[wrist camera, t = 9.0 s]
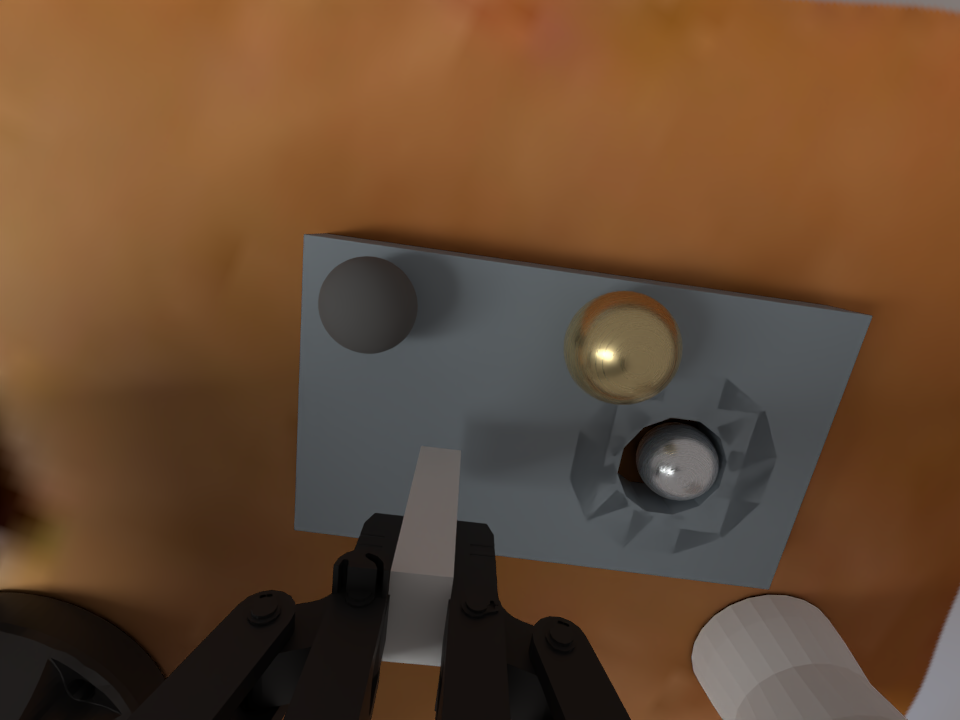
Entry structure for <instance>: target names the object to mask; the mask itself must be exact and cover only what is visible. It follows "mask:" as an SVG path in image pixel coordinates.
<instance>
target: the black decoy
mask: <svg viewBox="0 0 960 720" xmlns="http://www.w3.org/2000/svg"><path fill="white" fill-rule="evenodd" d="M318 309H319V315H320V319H321V321H322V324H323V326H324V328H325V329H326V331H327V332H328V334H329V335H330V336H331V337H332V338H333V339H334V340H335V341H336V342H337V343H338V344H340V345H341V346H343V347H345V348H347V349H349V350H351V351H355V352H358V353H364V354H375V353H380V352H384V351H387V350H389V349H392V348H394V347H395V346H397V345H398V344H399V343H401V342H402V341H403V340H404V339H405V338H406V337H407V336H408V334H409V333H410V331H411V330H412V328H413V326H414V323H415V320H416V317H417V311H418V303H417V296H416V292H415V289H414V287H413V285H412V283H411V281H410V280H409V278H408V277H407V275H406V274H405V273H404V272H403V271H402V270H401V269H400V268H399V267H397V266H396V265H394V264H393V263H391V262H389V261H387V260H384V259H381V258H377V257H370V256H363V257H356V258H352V259H349V260H347V261H345V262H343V263H341V264H339V265H338V266H336V267H335V268H334V269H333V270H332V271H331V272H330V273H329V274H328V276H327V277H326V278H325V280H324V282H323V284H322V286H321V289H320V293H319V299H318Z"/></svg>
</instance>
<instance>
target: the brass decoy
mask: <svg viewBox="0 0 960 720" xmlns="http://www.w3.org/2000/svg"><path fill="white" fill-rule="evenodd" d="M682 351H683V344H682V337H681V333H680V329H679V327H678V324H677V322H676V321H675V319H674V317H673V316H672V315H671V313H670V312H669V311H668V310H667V309H666V308H665V307H664V306H663V305H662V304H661V303H659V302H658V301H656V300H655V299H653V298H651V297H649V296H647V295H644V294H642V293H637V292H632V291H615V292H609V293H606V294H603V295H600V296H598V297H595V298H593V299H592V300H590V301H589V302H587V303H586V304H585V305H583V306H582V307H581V308H580V309H579V310H578V311H577V312H576V314H575V315H574V316H573V318H572V320H571V321H570V323H569V325H568V328H567V330H566V334H565V337H564V345H563V353H564V359H565V363H566V366H567V369H568V371H569V373H570V375H571V377H572V378H573V380H574V381H575V382H576V384H577V385H578V386H579V387H580V388H581V389H582V390H583V391H584V392H585V393H587V394H588V395H590V396H592V397H593V398H595V399H597V400H599V401H602V402H605V403H610V404H616V405H630V404H636V403H639V402H643V401H645V400H648V399H650V398H652V397H654V396H655V395H657V394H658V393H660V392H661V391H662V390H663V389H664V388H666V387H667V386H668V384H669V383H670V382H671V381H672V379H673V378H674V376H675V374H676V372H677V370H678V368H679V365H680V362H681V358H682Z"/></svg>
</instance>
